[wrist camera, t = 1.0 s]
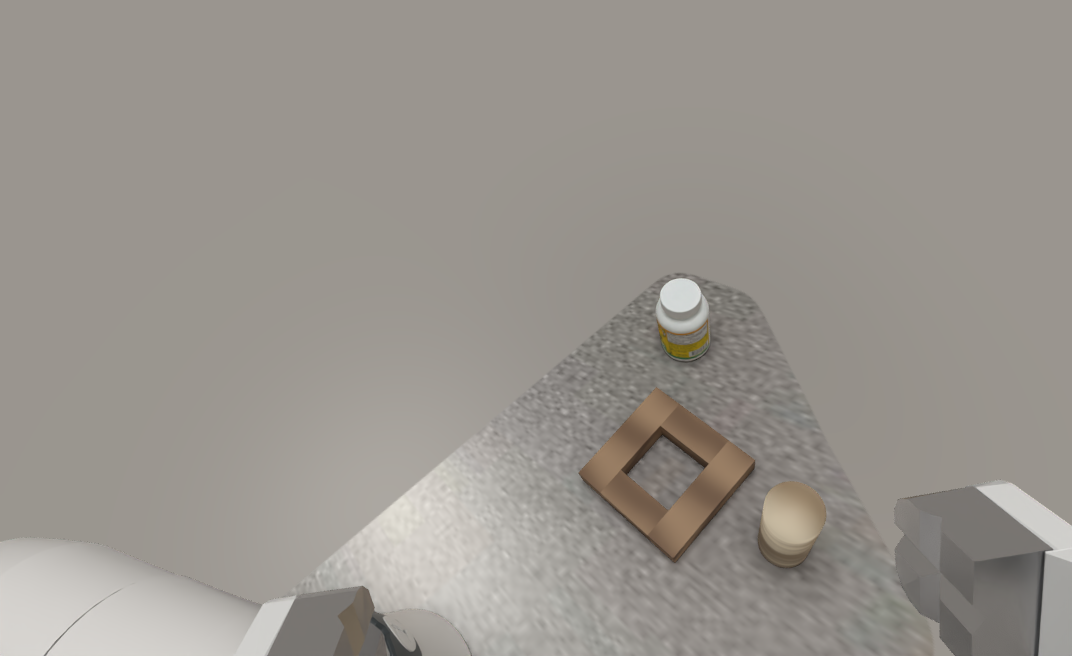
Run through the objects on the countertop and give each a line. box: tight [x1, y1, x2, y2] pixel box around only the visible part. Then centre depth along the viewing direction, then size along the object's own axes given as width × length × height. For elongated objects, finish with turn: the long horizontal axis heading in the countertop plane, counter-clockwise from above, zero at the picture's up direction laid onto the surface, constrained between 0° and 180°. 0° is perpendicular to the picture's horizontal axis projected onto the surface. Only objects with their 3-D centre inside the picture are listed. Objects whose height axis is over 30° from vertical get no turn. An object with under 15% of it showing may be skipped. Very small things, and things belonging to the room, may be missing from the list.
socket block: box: [579, 387, 755, 563], centre depth 63 cm, size 12×12×2 cm
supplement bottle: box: [656, 278, 710, 361], centre depth 67 cm, size 5×5×10 cm
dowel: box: [758, 481, 826, 568], centre depth 53 cm, size 4×4×12 cm
